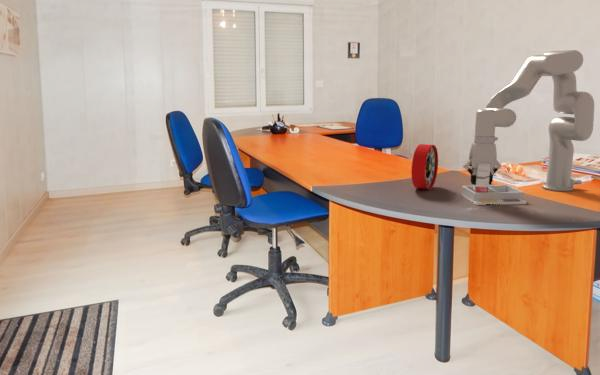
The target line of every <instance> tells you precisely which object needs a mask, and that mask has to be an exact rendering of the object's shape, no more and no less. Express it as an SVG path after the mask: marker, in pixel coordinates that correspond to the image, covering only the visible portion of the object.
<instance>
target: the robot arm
mask: <svg viewBox="0 0 600 375" xmlns="http://www.w3.org/2000/svg"><path fill="white" fill-rule="evenodd" d="M583 63H584V56H583V54H582V52H580V51H579V50H576V49H570V50H568V49H567V50H554V51H547V52H545V53H543V54H535V55H531V56H529V57H528V58H527V59H526V60H525V62H524V63H523V64H522V66H521V67H520V68H519V70H518V72H517V74H516V75H515V76H514V77H513V80H512V81H511V82H510V83H509V84H508V85H506V86H505V87H504V88H502V89H501V90H500V91H498V92H496V94H494V95H493V96H492V97H491V98H490V99H489V101H488V102H487V104H486V105H485V107H484V108H483V109H477V111H476V113H475V123H474V124H475V125H474V127H475V128H474V140H473V143H471V146H470V150H469V155H468V161H467V162H466V163H465V164H463V168H464V169H465V170H466V171H467V172H468V173H469V174H470V183H471V184H472V186H474V185H476V175H475V173H476V171H477V168H478V164H490V165H491V168H490V178H489V185H492V183H493V180H494V175H495V174H496V172H497V171H498V170H499V169H501V168H502V164H501V163H500V162H499V161H498V159H497V158H498V157H497V155H498V154H497V146H496V143H495V141H497V142H498V140H499V139H498V138H499V137H496V135H495V134H496V128H497V127H498V128H510V127H511V126H513V125H514V124H515V123H516V120H517V114H516V113H515V111H514V110H512V109H510V108H507V107H506V106H508V105H509V104H511V103H513V102H516V101H518V100H520V99H523V98H525V97H528V96H529V95H530V94H531V92H532V91H533V89H534V88H535V86H536V85H537V84H538V82H539V80H540V79H541V78H542V77H551V78H552V81H553V104H552V105H553V110H554V111H555V112H556V113H557V114H562V115H574V116H557V117H555V118H553V119H552V120H551V121H550V122H549V125H548V135H549V147H548V151H549V152H548V159H547V169H546V181H545V183H542V184H541V188H543V189H545V190H548V191H555V192H572V191H574V189H575V185H582V180H581V179H574V178H572V171H573V162H574V161H573V160H574V154H575V149H574V144H573V141H576V142H585V141H587V140H589V139H590V138H591V136H592V135H593V134H592V133H593V130H594V120H595V119H594V118H595V100H594V97H593V96H592V94H591V93H589V92H587V91H577V78H576V77H577V76H576V73H575V72H577V71H578V70H579V69H580V68H581V67H582V66H583ZM505 107H506V108H505ZM470 167H471V168H470Z"/></svg>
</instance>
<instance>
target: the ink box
mask: <svg viewBox="0 0 600 375" xmlns="http://www.w3.org/2000/svg"><path fill="white" fill-rule="evenodd" d="M490 168H491V165H490V164H478V168H477V171H476V173H475V175H476V185H472V186H473V189H474V190H475V192H476V193H487V192H488V188H489V178H490Z"/></svg>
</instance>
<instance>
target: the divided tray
mask: <svg viewBox="0 0 600 375" xmlns="http://www.w3.org/2000/svg"><path fill="white" fill-rule="evenodd" d="M473 186H474V185H461V196H462V197H463V198H465V199H467V200H468V201H469V200H470V201H469V202H471V203H472V202H473V203H472V204H474V205H475V204H476V206H487V205H486V204H491V206H493V205H492V204H494V206H495V204H496V205H497V204H498V205H499V204H500V205H527V200H525V199H524V194H525V192H524V191H522V190H520V189H518V188H516V187H513V186H512V185H510V184H491V185H489V188H488V192H487V193H476V192H475V190H474V189H473ZM498 205H497V206H498Z"/></svg>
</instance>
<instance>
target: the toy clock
mask: <svg viewBox="0 0 600 375" xmlns="http://www.w3.org/2000/svg"><path fill="white" fill-rule="evenodd" d="M438 167H439V154H438V149H437V147H436V145H434V144H428V143H427V144H425V143H419V144H418V145H417V146H416V147H415V150H414V153H413V156H412V161H411V170H410V172H411V182H412V185H413V187H414V188H415V189H419V190H420V189H422V190H431V189H433V187H434V185H435V183H436V179H437V176H438V169H439V168H438Z"/></svg>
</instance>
